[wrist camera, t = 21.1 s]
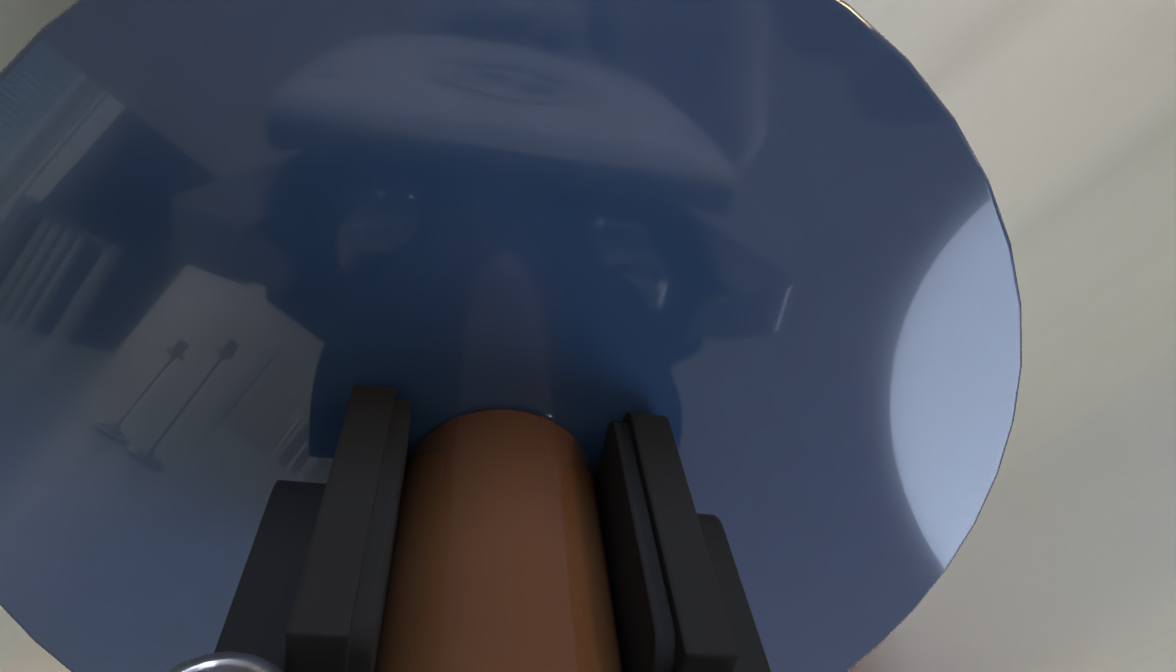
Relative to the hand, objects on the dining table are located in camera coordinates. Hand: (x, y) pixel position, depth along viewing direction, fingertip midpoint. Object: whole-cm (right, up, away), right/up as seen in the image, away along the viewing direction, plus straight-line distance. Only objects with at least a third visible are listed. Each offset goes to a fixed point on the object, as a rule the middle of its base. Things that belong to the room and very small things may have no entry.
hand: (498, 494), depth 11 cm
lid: (0, 0, +1) cm, 1 cm away
